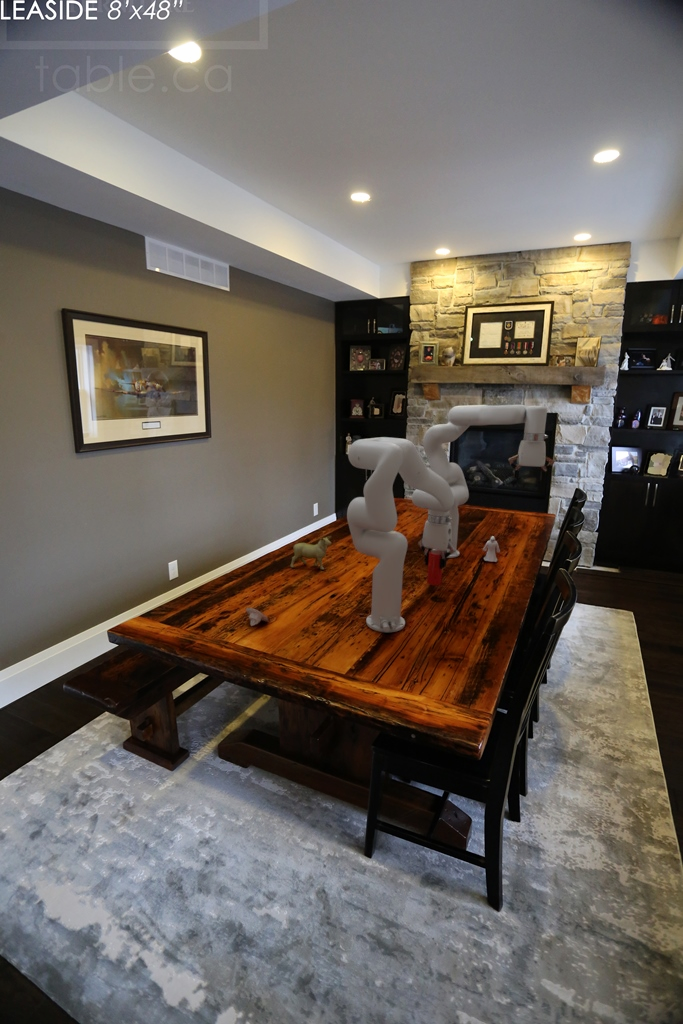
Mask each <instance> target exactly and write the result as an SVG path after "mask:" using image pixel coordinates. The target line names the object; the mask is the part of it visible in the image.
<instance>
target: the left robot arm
mask: <svg viewBox="0 0 683 1024" xmlns="http://www.w3.org/2000/svg"><path fill="white" fill-rule="evenodd" d="M347 457H348V461H349V463H350V464H351V465H352V466H353V467H354V468H357V469H362V470H370V471H373V472H372V474H371V475H370V476H369V478H368V479H367V481H366V482H365V483H364V486H363V496H357V497H354V498H353V499H352V500H351V501H350V503H349V504H348V507H347V511H346V520H347V525H348V529H349V532H350V537H351V540H352V544H353V547H354V548H355V550H356V551H357V552H358V553H360V554H361V555H365V556H368V557H373V558H376V559H379V562H378V563H377V564H376V566H374V569H373V571H372V585H371V586H372V587H371V607H370V609H371V613H370V615H368V616H367V617H366V621H365V622H366V623H365V624H366V625H367V627H368V628H369V629H372V630H373V631H376V632H379V633H396V632H398V631H402V630H403V629H404V628H405V626H406V620H405V618H403V617H402V615H401V614H402V599H403V598H402V597H403V580H404V579H403V577H404V566H405V559H406V555H407V551H408V545H409V544H408V539H407V537H406V536H405V535H404V534H403V533H401V532H399V531H396V530H395V529H396V528H397V525H398V514H397V509H396V507H397V506H396V504H395V503H396V502H395V498H394V491H393V488H394V487H393V485H394V483H395V480H396V477H397V475H398V474H399V475H400V477H401V479H402V481H403V482H404V483H405V484H406V485H407V486H410V487H411V488H413V489H415V490H413V492H412V494H411V502H412V505H414V506H415V507H417V508H419V509H424V510H427V520H426V521H425V523H424V527H423V532H422V538H421V539H420V540H419V541H418V542H417V545H418V546H419V547H420V549H421V550H422V552H423V554H424V562H425V564H424V565H425V566H428V558H429V551H431V550H433V549H435V550H440V551H441V556H442V558H441V559H440V569H442V570H443V569H444V568H446V567H447V560H448V558H447V557H448V556H449V555H451V554H452V553H454V552H456V550H457V549H456V550H455V548H454V547H453V545H452V528H451V523H449V522H452V518H450V515H449V510H450V509H451V508H452V507H453V504H454V495H453V492H452V490H451V488H450V486H449V484H448V483H447V482H446V481H445V480H444V479H443V478H442V477H440V476H439V475H438V474H436V473H435V472H433V471H432V470H431V468H430V467H427V465H426V464H425V462H424V460H423V458H422V456H421V454H420V452H419V451H418V449H417V447H416V446H415V443H414V442H412V441H411V440H409V439H407V438H399V437H388V436H380V437H370V438H361V439H360V438H359V439H357V440H355V441H353V442H352V443H351V444H350V446H349V449H348V452H347ZM447 549H450V551H449V552H447Z"/></svg>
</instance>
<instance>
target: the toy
mask: <svg viewBox="0 0 683 1024" xmlns="http://www.w3.org/2000/svg"><path fill="white" fill-rule="evenodd" d="M331 538H332V535H328V536H326V537H320V538H319V540H318V542H317V543H316V544H310V543H306V542H299V543H298V542H297V543H296V544H294V545H293V547H292V548H293V553H294V556H292V557H291V563H290V569H295V565H294V564H295V562H296V561H297V560H300V561H301V562H302V564H303V565H304V566H307V562H306V559H309V560H311V559H314V563H313V566H314V567H318V565H319V568H320V571H325V568H324V566H323V559H324V558H325V557H326V556H327V551H328V546H329V547H330V546H331V545H332V542H331V541H330V539H331ZM304 558H305V559H304Z"/></svg>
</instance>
